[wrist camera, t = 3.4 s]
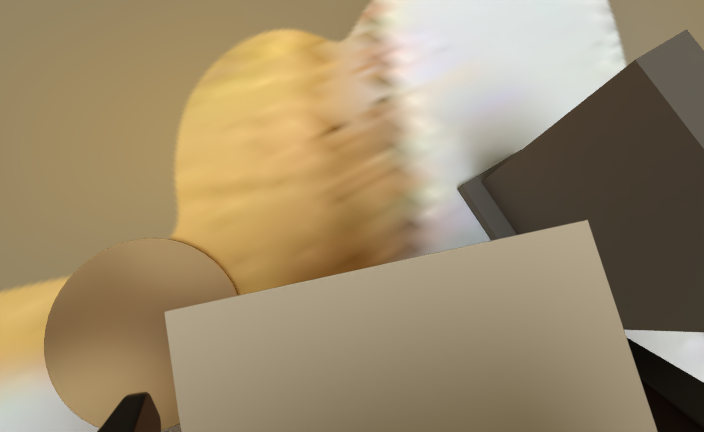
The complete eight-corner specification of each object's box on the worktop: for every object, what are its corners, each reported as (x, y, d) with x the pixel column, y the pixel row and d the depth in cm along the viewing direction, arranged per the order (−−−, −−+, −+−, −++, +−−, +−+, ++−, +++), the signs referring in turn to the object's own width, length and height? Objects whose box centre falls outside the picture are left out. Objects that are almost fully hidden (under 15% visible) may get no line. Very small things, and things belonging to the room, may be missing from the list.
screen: (619, 303, 19) (931, 287, 10) (561, 344, 19) (832, 373, 9) (515, 154, 20) (702, 5, 11) (457, 189, 20) (600, 64, 10)
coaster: (258, 403, 17) (257, 406, 17) (61, 453, 16) (53, 457, 16) (227, 224, 19) (225, 221, 18) (43, 260, 18) (36, 258, 17)
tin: (429, 418, 18) (758, 693, 5) (294, 454, 17) (245, 893, 4) (397, 287, 19) (598, 217, 6) (268, 316, 18) (164, 311, 5)
